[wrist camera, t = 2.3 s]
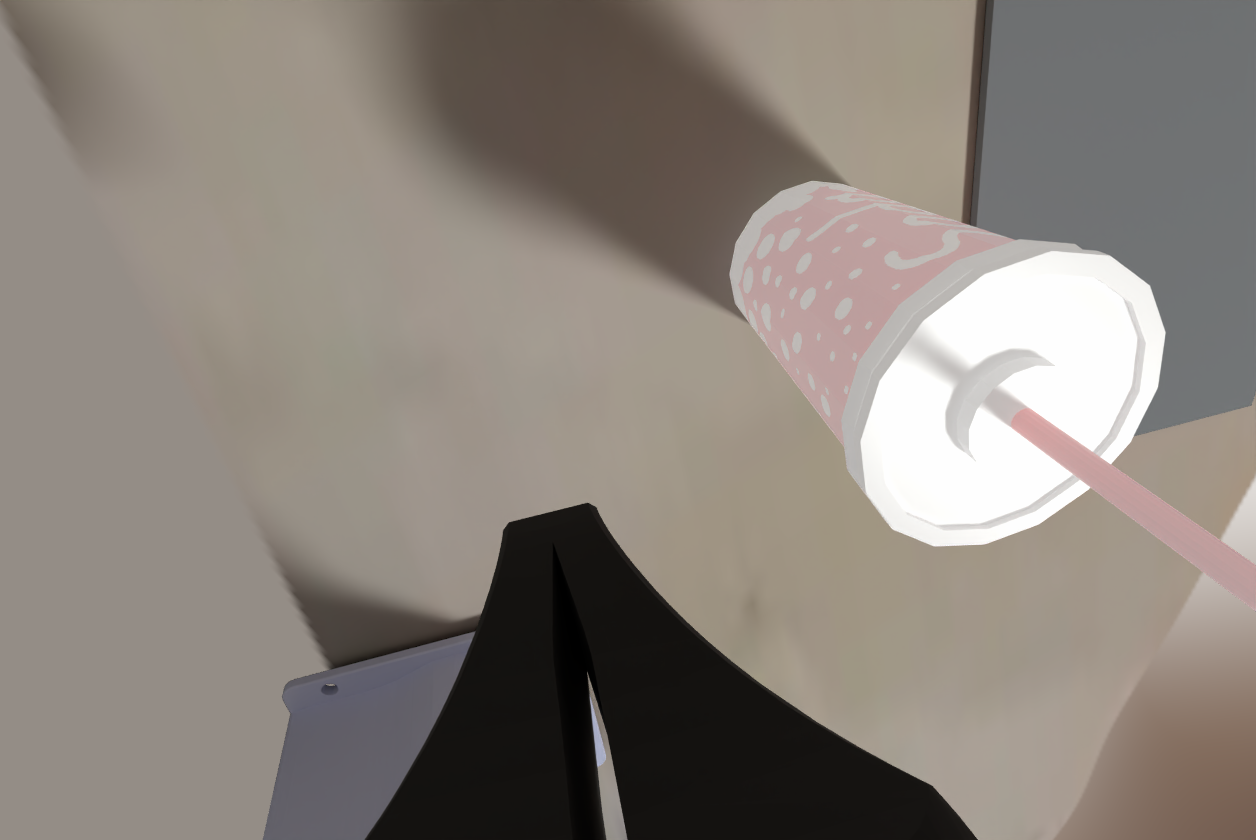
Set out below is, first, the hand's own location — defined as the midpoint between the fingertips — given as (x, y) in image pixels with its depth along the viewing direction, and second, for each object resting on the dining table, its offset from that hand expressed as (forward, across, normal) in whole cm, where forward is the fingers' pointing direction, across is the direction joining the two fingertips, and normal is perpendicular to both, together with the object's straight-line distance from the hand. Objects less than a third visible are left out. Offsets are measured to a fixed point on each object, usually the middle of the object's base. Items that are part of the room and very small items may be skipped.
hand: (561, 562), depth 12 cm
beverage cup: (+11, -8, 0) cm, 13 cm away
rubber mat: (+10, -19, +1) cm, 22 cm away
